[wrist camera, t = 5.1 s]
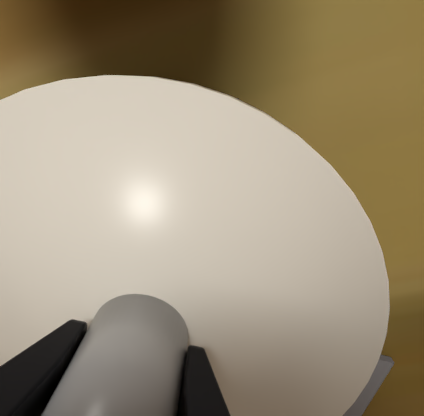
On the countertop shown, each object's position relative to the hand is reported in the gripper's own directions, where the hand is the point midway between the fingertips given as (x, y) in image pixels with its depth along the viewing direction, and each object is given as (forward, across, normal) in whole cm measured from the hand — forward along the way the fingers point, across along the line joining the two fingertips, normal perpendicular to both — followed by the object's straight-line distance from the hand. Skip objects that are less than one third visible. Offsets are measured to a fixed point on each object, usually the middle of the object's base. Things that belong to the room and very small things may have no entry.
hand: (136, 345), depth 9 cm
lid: (+2, 0, 0) cm, 2 cm away
